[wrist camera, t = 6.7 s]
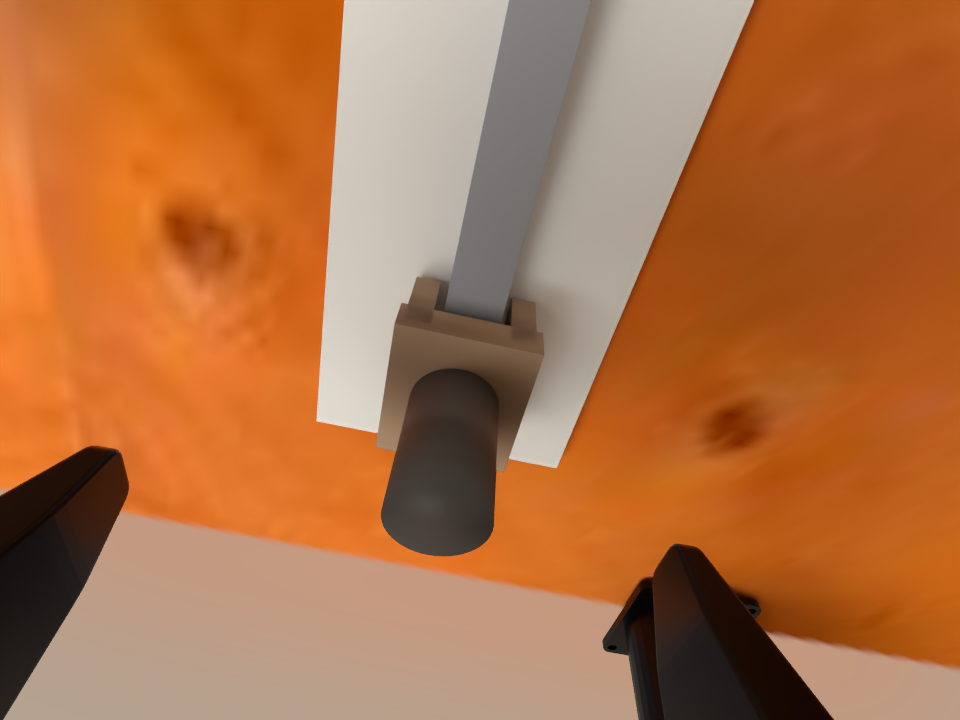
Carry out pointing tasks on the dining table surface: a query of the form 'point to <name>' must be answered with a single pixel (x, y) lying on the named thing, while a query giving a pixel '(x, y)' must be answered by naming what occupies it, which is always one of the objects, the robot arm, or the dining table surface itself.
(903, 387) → the dining table surface
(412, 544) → the carriage
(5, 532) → the robot arm
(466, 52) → the plate
